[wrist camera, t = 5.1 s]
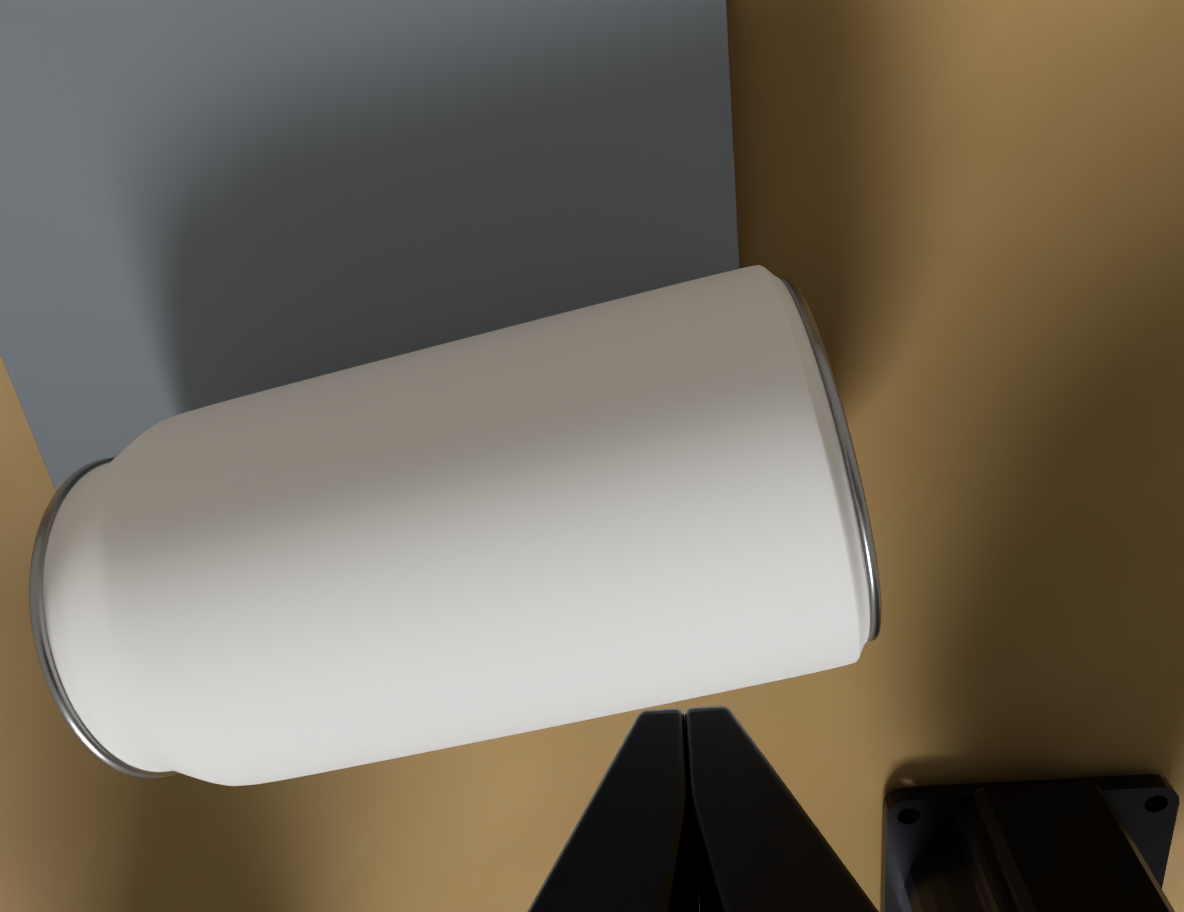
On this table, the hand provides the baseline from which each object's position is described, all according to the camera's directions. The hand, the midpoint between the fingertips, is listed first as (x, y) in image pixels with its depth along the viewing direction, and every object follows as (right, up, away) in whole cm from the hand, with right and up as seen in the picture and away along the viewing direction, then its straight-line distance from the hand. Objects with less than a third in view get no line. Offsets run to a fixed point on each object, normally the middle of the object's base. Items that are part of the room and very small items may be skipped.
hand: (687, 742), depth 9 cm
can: (+3, +3, +6) cm, 7 cm away
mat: (-5, +5, +9) cm, 11 cm away
